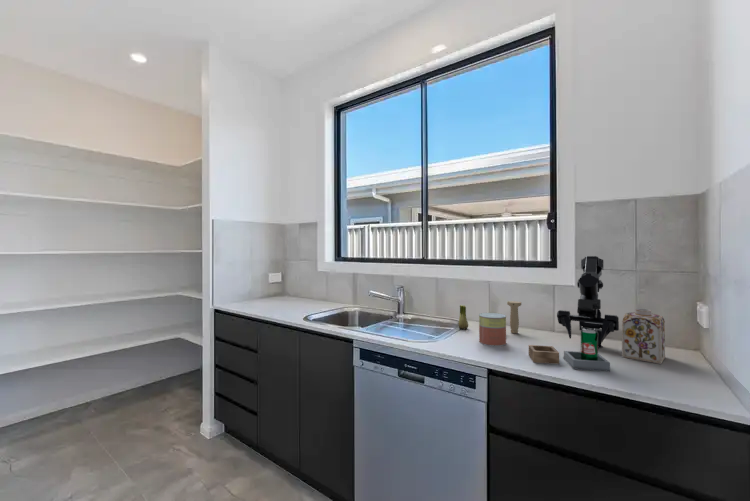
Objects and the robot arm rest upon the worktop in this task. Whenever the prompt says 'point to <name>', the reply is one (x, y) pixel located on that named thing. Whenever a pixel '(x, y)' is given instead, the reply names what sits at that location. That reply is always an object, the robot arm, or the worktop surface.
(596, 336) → the soda can
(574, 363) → the tray
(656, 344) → the decorative jar
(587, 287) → the robot arm
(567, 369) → the worktop surface
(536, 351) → the wooden box
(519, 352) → the worktop surface
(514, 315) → the handle
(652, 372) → the worktop surface
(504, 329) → the canned food
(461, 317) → the fennel bulb
